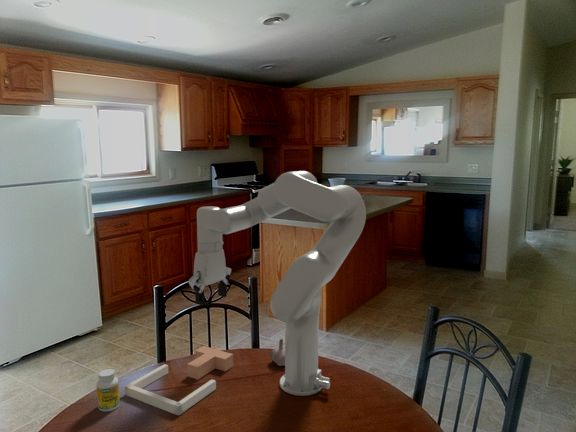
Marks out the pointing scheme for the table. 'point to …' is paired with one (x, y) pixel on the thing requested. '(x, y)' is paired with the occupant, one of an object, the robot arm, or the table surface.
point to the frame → (161, 402)
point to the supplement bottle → (108, 391)
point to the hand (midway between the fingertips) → (211, 300)
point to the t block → (209, 362)
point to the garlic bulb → (278, 354)
